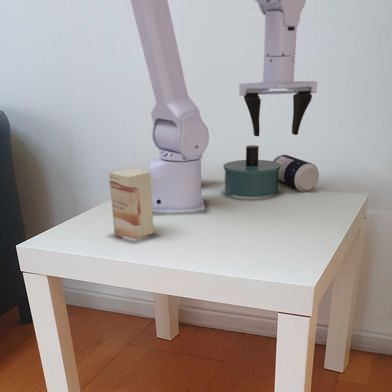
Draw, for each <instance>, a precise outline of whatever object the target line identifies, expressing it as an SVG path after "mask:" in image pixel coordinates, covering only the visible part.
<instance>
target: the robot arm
mask: <svg viewBox="0 0 392 392" xmlns="http://www.w3.org/2000/svg"><path fill="white" fill-rule="evenodd" d="M254 2H256V3H257V4H258V7H259V10H260V12H261V14H262V15H263V16H264V20H265V21H264V43H263V44H264V45H263V48H264V49H263V69H262V71H263V72H262V81H261V82H248V83H246V82H245V83H238V96H243V99H244V102H245V104H246V107H247V109H248V113H249V116H250V119H251V124H252V129H253V130H252V131H253V136H254V137H260V112H261V102H262V99H261V98H260V96H259V95H286V94H287V95H289V94H293V95H292V101H293V104H292V105H293V106H292V107H293V110H292V113H293V115H292V123H291V134H292V135H294V136H297V135H299V130H300V126H301V124H302V120H303V118H304V115H305V112H306V111H307V108H308V107H309V105H310V102H312V98H313V95H312V94H317V91H318V81H316V80H311V81H310V80H309V81H308V80H305V81H294V80H295V79H294V78H295V67H296V66H295V62H296V51H297V50H296V49H297V33H298V32H297V31H298V26H299V23H300V22H301V13H302V11H303V9H304V7H305V5H306V2H307V0H254ZM130 4H131V8H132V13H133V16H134V20H135V23H136V27H137V32H138V35H139V40H140V44H141V48H142V51H143V56H144V59H145V63H146V67H147V71H148V75H149V79H150V83H151V87H152V92H153V96H154V99H155V105H154V106H153V108H152V110H151V113H150V116H151V120H152V128H151V139H152V142H153V145H154V146H155V147H156V148H157V149H158V152H159V156H160V157H157V158H150V159H149V172H150V179H151V197H152V212H176V211H177V212H179V211H202V210H203V211H204V210H206V208H205V202H204V199H203V197H202V196H203V195H202V159H203V154H204V153H205V151H206V150H207V149H208V145H209V141H210V134H209V129H208V127H207V125H206V124H205V122H204V121H203V120H202V117H201V114H200V109H199V107H198V106H197V105H196V103H195V102H194V101H193V100H192V98H191V97H190V96H189V93H188V89H187V84H186V81H185V75H184V70H183V65H182V61H181V57H180V52H179V46H178V42H177V39H176V34H175V28H174V25H173V20H172V16H171V11H170V10H171V9H170V6H169V2H168V0H130ZM281 89H285V90H281Z"/></svg>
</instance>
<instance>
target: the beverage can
mask: <svg viewBox="0 0 392 392" xmlns="http://www.w3.org/2000/svg"><path fill="white" fill-rule="evenodd" d="M272 161H273V162H277V163H279V164H280V165H281V168H280V169H279V172H278V184H281V185H284V186H286V187H288V188H290V189H293V190H294V191H296V192H299V193H303V194H304V193H305V194H306V193H308V192H311V191H312V190H314V188H315V187H316V186H317V184H318V181H319V178H320V172H319V169H318V167H317V166H316V165H315V164H314V163H311V162H309V161H306V160H302V159H299V158H297V157H294V156H291V155H289V154H280V155H278V156H276V157H275V158H273V159H272Z"/></svg>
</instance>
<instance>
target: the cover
mask: <svg viewBox="0 0 392 392" xmlns="http://www.w3.org/2000/svg"><path fill="white" fill-rule="evenodd" d="M245 146H246V147H245V159H240V160H233V161H232V160H231V161H228V162H225V163H224V164H223V165H222V168H223V170H224V171H225V170H226V171H229V172H233V173H241V174H261V173H270V172H274V171H277V170H279V169H280V168H281V165H280V164H279V163H277V162H273V160H267V159H259V150H260V149H259V147H260V146H259V145H255V144H252V145H251V144H250V145H245Z"/></svg>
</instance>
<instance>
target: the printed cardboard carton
mask: <svg viewBox="0 0 392 392" xmlns="http://www.w3.org/2000/svg"><path fill="white" fill-rule="evenodd" d="M108 180H109V188H110V189H109V190H110V199H111V201H110V202H111V210H112V221H113V222H112V223H113V232H114V233H113V234H114V235H115V236H116V237H119V238H120V239H124V237H125V238H128V239H133V240H134V239H139V238H141V237H144V236H145V237H146V236H148V235H151V234H153V233H154V232H155V231H154V216H153V215H154V213H153V211H152V197H151V179H150V171H148V170H144V169H141V168H135V167H132V166H127V167H124V168H120V169H115V170H110V171H108Z"/></svg>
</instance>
